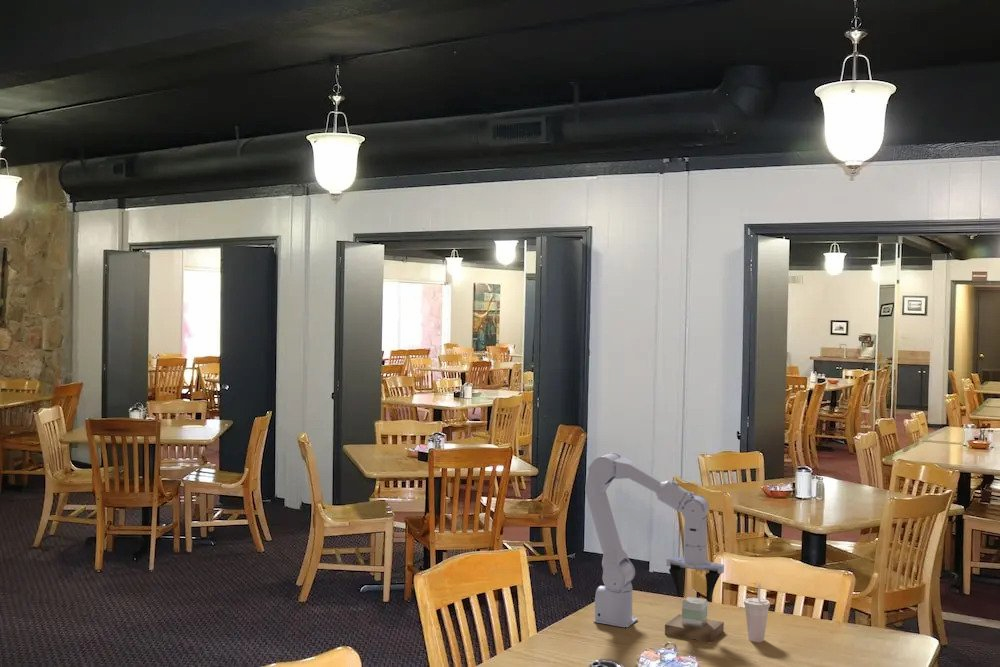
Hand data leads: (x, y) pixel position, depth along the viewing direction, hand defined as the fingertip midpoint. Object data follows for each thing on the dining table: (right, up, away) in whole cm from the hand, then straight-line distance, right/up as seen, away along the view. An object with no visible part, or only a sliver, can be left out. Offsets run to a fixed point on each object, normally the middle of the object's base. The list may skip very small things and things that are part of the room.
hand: (694, 597), depth 247 cm
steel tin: (0, -7, 0) cm, 7 cm away
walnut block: (0, -10, 0) cm, 10 cm away
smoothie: (+14, -9, -5) cm, 18 cm away
